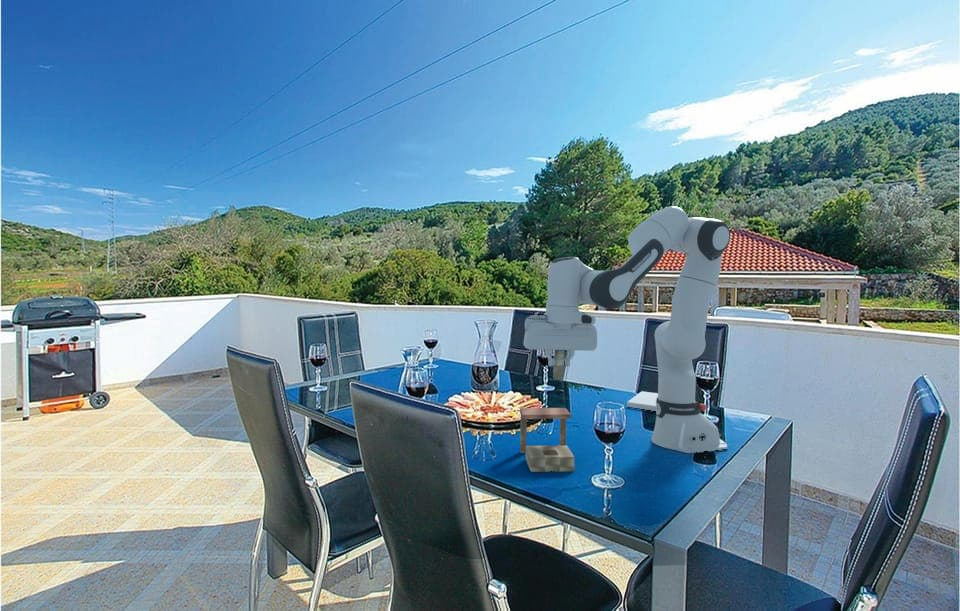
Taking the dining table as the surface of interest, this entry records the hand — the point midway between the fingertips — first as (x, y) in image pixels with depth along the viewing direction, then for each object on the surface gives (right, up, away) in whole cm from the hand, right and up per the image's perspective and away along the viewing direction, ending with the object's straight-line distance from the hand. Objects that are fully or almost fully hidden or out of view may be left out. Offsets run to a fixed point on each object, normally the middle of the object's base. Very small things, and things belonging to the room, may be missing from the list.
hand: (558, 366), depth 134 cm
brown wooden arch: (-3, -28, +11) cm, 30 cm away
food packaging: (+50, -26, +69) cm, 89 cm away
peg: (0, -4, 0) cm, 4 cm away
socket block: (-2, -28, +4) cm, 29 cm away
